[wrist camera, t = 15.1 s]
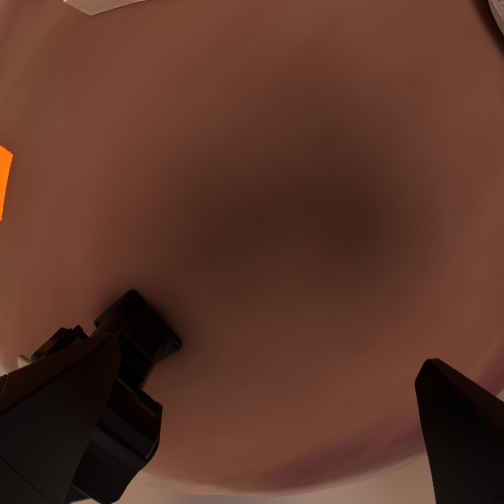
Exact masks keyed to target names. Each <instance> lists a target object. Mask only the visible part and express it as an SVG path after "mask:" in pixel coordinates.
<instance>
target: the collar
mask: <svg viewBox="0 0 504 504" xmlns="http://www.w3.org/2000/svg"><path fill="white" fill-rule="evenodd" d="M140 1H144V0H64V2H66V3H67V4H69V5H71V6H73V7H75V8H77V9H79V10H81V11H82V12H84V13H86V14H88V15H90V16H92V15H95V14H98V13H101V12H104V11H107V10H111V9H114V8H117V7H121V6H124V5H128V4H132V3H136V2H140Z"/></svg>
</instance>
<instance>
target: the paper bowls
mask: <svg viewBox="0 0 504 504" xmlns="http://www.w3.org/2000/svg"><path fill="white" fill-rule="evenodd" d="M488 2H489V6H490V9H491V12H492V14H493V16H494V18H495V20H496V23H497V24H498V26H499V28H500V30H501V32H502V33H503V35H504V0H488Z"/></svg>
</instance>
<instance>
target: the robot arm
mask: <svg viewBox="0 0 504 504" xmlns="http://www.w3.org/2000/svg"><path fill="white" fill-rule="evenodd" d="M130 295H132V296H133V298H132V297H131V296H130ZM94 325H95V327H96V328H97V329H96V330H95V331H94V332H93V333H92V334H91V335H90V337H88V336H87V335H86V334H85V333H84V332H83V329H82V328H81V327H80V325H79V324H78V325H77V326H76V327H75V328H74V329H73V330H72V329H71V328H70V329H66V328H63V327H61V328H60V329H59V330H58V331H57V332H56V333H55V334H54V335H53V336H52V337H51V338H50V339H49V340H48V341H47V342H46V343H45V344H43V345H42V346H41V347H40V348H39V349H38V350H37V351H36V352H35V353H34V354H33V355H32V356H31V364H29V365H26V366H24V367H22V368H19V369H17V370H15V371H12V372H10V373H8V375H7V374H5V375H3V376H1V377H0V504H71V503H73V502H78V501H82V500H87V499H93V500H95V501H97V502H99V503H100V504H112V503H114V502H116V501H117V500H119V499H120V497H121V496H122V494H123V492H124V491H125V489H126V487H127V486H128V484H129V483H130V481H131V480H132V479H133V478H134V477H135V475H136V474H137V473H138V472H139V471H140V470H141V469H142V468H143V467H145V466H146V465H147V464H148V462H149V461H150V460H151V459H152V457H153V456H154V454H155V453H156V451H157V448H158V445H159V439H160V428H161V418H162V408H163V406H162V405H161V404H160V403H158V402H155V401H154V400H153V399H152V398H151V397H150V396H148V395H147V394H146V393H145V392H144V391H143V390H142V389H143V387H144V385H145V384H146V382H147V380H148V378H149V376H150V374H151V372H152V370H153V368H154V366H155V365H156V363H157V362H158V361H160V360H162V359H164V358H165V357H167V356H169V355H171V354H173V353H174V352H176V351H178V350H180V349H181V347H182V342H181V340H180V339H179V338H178V337H177V336H176V335H175V334H174V333H173V332H172V331H171V330H170V329H169V328H168V327H167V326H166V325H165V324H164V323H163V322H162V320H161V319H160V318H159V317H158V316H157V315H156V314H155V313H154V312H153V311H152V310H151V308H150V307H149V306H148V305H147V304H146V303H145V302H144V301H143V300H142V298H141V297H140V296H139V295H138V294H137V293H136V292H135V291H134V290H129V291H128V292H127V293H125V294H124V295H123V296H122V297H121V298H120V299H119V300H117V301H116V302H115V303H114V304H113V305H112V306H111V307H109V308H108V309H107V310H106V311H105V312H104V313H103V314H101V315H100V316H99V317H98V318H97V319H96V320H95V321H94ZM175 343H176V344H178V345H176V344H175ZM415 390H416V396H417V402H418V408H419V415H420V422H421V428H422V432H423V437H424V441H425V445H426V450H427V454H428V459H429V464H430V469H431V475H432V480H433V486H434V493H435V500H436V504H504V402H503V401H501V400H500V399H498V398H497V397H495V396H494V395H492V394H491V393H490V392H488V391H487V390H485V389H484V388H482V387H481V386H479V385H478V384H476V383H475V382H473V381H472V380H470V379H469V378H467V377H466V376H464V375H463V374H461V373H460V372H458V371H457V370H455V369H454V368H452V367H451V366H449V365H448V364H446V363H445V362H443V361H442V360H440V359H438V358H434V359H427V360H426V361H425V362H424V364H423V366H422V368H421V370H420V372H419V374H418V376H417V378H416V380H415Z"/></svg>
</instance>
